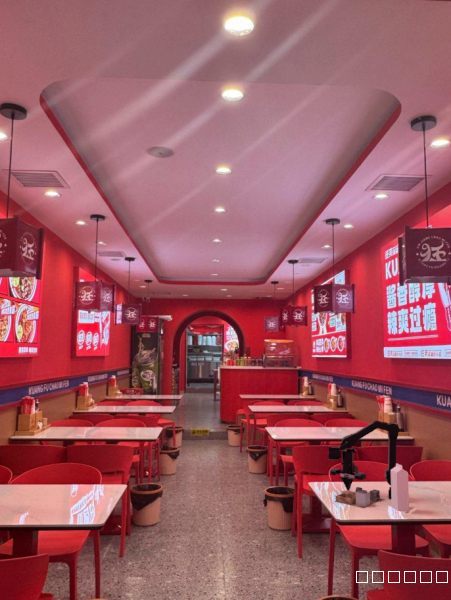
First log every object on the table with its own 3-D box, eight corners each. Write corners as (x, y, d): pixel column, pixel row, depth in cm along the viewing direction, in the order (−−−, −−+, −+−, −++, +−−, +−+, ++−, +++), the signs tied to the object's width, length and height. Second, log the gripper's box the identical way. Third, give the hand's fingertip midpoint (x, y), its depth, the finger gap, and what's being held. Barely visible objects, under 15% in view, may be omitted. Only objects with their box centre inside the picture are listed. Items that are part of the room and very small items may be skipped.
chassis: (382, 501, 245) (382, 490, 246) (364, 510, 229) (364, 498, 230) (354, 495, 256) (354, 484, 256) (334, 504, 239) (334, 492, 240)
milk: (402, 509, 233) (401, 463, 236) (409, 513, 227) (408, 465, 230) (391, 509, 232) (390, 463, 235) (397, 513, 226) (396, 465, 229)
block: (369, 504, 235) (369, 490, 236) (365, 506, 231) (365, 492, 232) (360, 502, 238) (360, 488, 239) (355, 504, 234) (355, 490, 235)
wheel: (368, 496, 249) (368, 488, 249) (364, 498, 245) (364, 489, 246) (358, 494, 252) (358, 486, 253) (354, 496, 249) (354, 487, 250)
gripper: (370, 460, 256) (371, 491, 254) (339, 456, 268) (339, 484, 266) (361, 463, 248) (362, 495, 246) (329, 458, 260) (329, 488, 258)
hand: (348, 490), depth 254 cm, fingers closed
